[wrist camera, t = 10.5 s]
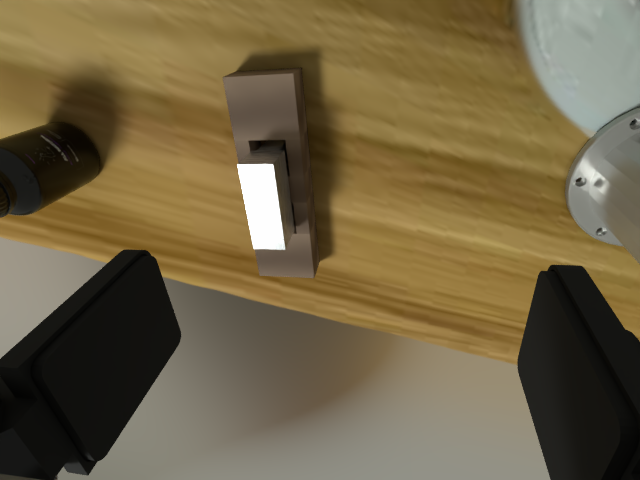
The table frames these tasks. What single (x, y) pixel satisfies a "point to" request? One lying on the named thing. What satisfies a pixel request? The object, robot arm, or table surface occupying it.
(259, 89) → the rail
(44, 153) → the supplement bottle
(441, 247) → the table surface
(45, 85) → the table surface
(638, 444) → the robot arm
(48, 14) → the table surface
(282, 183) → the grey boxy piece
